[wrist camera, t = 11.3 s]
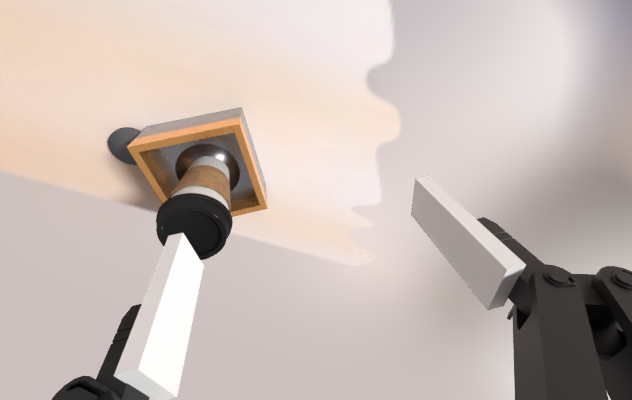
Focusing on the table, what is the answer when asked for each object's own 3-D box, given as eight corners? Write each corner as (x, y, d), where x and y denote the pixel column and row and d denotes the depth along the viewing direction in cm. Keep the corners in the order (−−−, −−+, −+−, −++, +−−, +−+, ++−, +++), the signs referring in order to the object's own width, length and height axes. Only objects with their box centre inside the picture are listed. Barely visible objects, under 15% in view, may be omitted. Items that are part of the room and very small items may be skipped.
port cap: (103, 130, 40) (96, 136, 38) (143, 123, 40) (137, 128, 38) (125, 164, 43) (119, 171, 41) (161, 157, 44) (157, 163, 42)
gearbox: (146, 126, 40) (126, 147, 34) (241, 107, 41) (239, 123, 35) (188, 201, 49) (178, 229, 43) (265, 184, 50) (267, 208, 44)
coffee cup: (193, 198, 43) (169, 268, 31) (171, 153, 38) (134, 215, 26) (243, 189, 44) (239, 254, 32) (229, 143, 39) (218, 199, 27)
